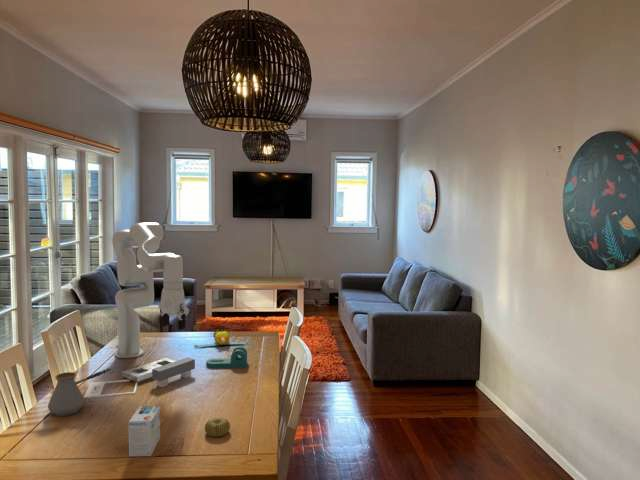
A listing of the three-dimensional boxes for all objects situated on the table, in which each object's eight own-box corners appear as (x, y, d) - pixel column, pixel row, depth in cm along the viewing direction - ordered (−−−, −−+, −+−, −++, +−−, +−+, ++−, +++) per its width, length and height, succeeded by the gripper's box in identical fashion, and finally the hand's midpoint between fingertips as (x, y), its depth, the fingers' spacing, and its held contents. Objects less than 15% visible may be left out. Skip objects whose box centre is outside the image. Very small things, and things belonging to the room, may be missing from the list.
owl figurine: (194, 334, 240) (193, 327, 255) (194, 351, 241) (193, 343, 256) (251, 330, 248) (247, 323, 263) (251, 347, 249) (247, 339, 263)
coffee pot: (41, 419, 165) (40, 375, 164) (56, 404, 176) (55, 364, 175) (107, 417, 167) (106, 374, 166) (118, 403, 179) (117, 363, 177)
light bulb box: (138, 439, 152) (138, 405, 151) (160, 438, 153) (160, 405, 152) (128, 457, 142) (127, 421, 141) (152, 456, 142) (151, 420, 141)
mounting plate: (122, 378, 202) (122, 371, 202) (165, 364, 221) (165, 357, 220) (137, 384, 197) (137, 376, 197) (180, 368, 215) (180, 362, 215)
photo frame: (91, 382, 196) (138, 378, 201) (91, 384, 197) (138, 380, 201) (83, 396, 182) (135, 391, 187) (83, 399, 183) (135, 394, 187)
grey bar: (152, 386, 195) (152, 369, 194) (187, 373, 210) (187, 357, 209) (159, 388, 192) (159, 371, 192) (194, 375, 207) (194, 359, 207)
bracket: (247, 363, 224) (247, 346, 224) (246, 368, 218) (246, 350, 217) (207, 363, 223) (207, 346, 222) (205, 368, 216) (205, 351, 216)
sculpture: (215, 429, 151) (199, 421, 156) (215, 441, 151) (199, 433, 156) (235, 420, 157) (219, 413, 162) (235, 432, 157) (219, 425, 162)
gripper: (151, 284, 199) (152, 326, 201) (180, 289, 190) (180, 332, 191) (166, 282, 206) (167, 322, 207) (195, 286, 196) (195, 328, 198)
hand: (173, 327), depth 199 cm, fingers open, 9 cm apart
